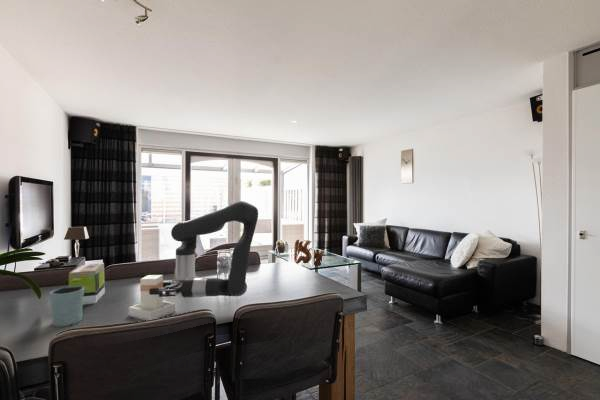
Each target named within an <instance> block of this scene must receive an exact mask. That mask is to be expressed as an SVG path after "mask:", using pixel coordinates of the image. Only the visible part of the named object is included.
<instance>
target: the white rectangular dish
mask: <svg viewBox="0 0 600 400" xmlns="http://www.w3.org/2000/svg"><path fill="white" fill-rule="evenodd" d="M174 313H176V303H175V302H170V301H167V300H163V307H162V308H159V309H157V310H154V311H148V310H144V309H141V302H140V303H136V304H133V305H131V306H129V307H128V316H129V317H131V318H135V319H139V320H141V319H143V320H142V321H145V320H150V319H155V318H160V317H162V318H164V317H167V316H169V315H171V314H174ZM160 319H161V318H160Z"/></svg>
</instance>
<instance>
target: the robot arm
mask: <svg viewBox="0 0 600 400" xmlns="http://www.w3.org/2000/svg"><path fill="white" fill-rule="evenodd" d="M258 219H259V209H258V208H257V207H256V206H255V205H253V204H251V203H248V202H247V201H243V200H238V201H237V202H234V203H231V204H230V205H228V206H226V207H224V208H221V209H219V210H215V211H213V212H209V213H207V214H204V215H202V216H198V217H196V218H194V219H192V220H190V221H186V222H179V223H176V224H174V226H173V227H172V229H171V231H170V232H171V233H170V234H171V237H172V239H173V240H174V241H176V242H182V244H181V245H180V246H178V247H177V248H176V249H175V268H174V279H172V280H170V281H163V288H151V289H150V290H149V294H150V295H159V297H163V298H166V297H167V298H168V297H172V298H173V297H176V295H178V294H181V297H182V298H206V297H220V296H221V297H241V296H243V295H244V294H245V293H247V289H248V285H247V282H246V279H247V271H248V269H249V264H250V263H249V262H250V253H251V246H252V242H253V238H254V234H255V230H256V227H257V222H258ZM230 222H237V223H241V224H243V228H242V229H243V231H242V233H241V236H240V238H239V240H237V242H236V244H235V246H234V248H233V251H232V253H231V254H232V256H231V262H230V264H231V265H230V271H229V274H228V278H226V279H223V278H220V277H219V278H218V277H217V278H216V277H215V278H214V277H211V278H210V277H196V249H197V241H198V240H197V239H198V237H197V236H202V235H209V234H213V233H216V232H219V231H221V230H222V229H223V228H224V226H225V225H226V223H230Z"/></svg>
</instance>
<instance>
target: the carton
mask: <svg viewBox="0 0 600 400" xmlns="http://www.w3.org/2000/svg"><path fill="white" fill-rule="evenodd" d="M163 275H164V274H148V275H145V276H144V277H142V278H140V284H139V287H140V289H139V291H140V303H141V309H144V310H148V311H154V310H157V309H159V308H162V307H163V301H164V297H159V295H150V294H149V290H150V289H151V288H163V282H164V276H163Z"/></svg>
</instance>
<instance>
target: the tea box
mask: <svg viewBox="0 0 600 400" xmlns="http://www.w3.org/2000/svg"><path fill="white" fill-rule="evenodd" d="M105 281H106V280H105V264H104V262H103V263H95V264H93V263H91V264H80V265H79V266H77V267H75V268H74V269H73V270H71V271H70V272H68V287H70V286H83V287H84V295H83V306H84V305H91V304H92V305H93V304H97V302H98V301H100V299H101V298H102V296H103V295H105V293H106V287H105Z"/></svg>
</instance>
